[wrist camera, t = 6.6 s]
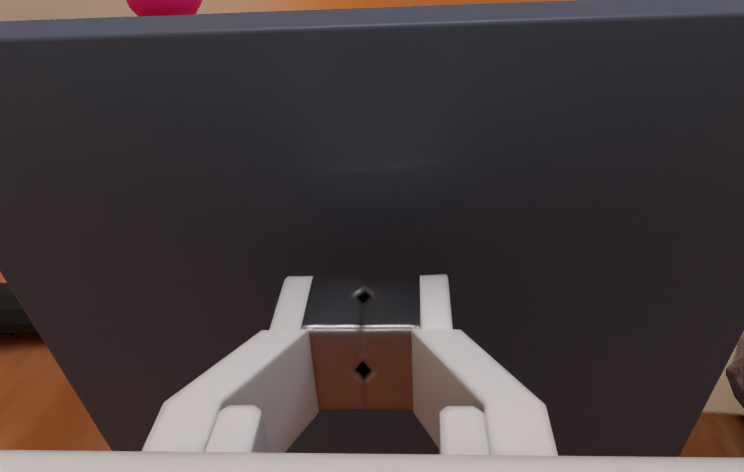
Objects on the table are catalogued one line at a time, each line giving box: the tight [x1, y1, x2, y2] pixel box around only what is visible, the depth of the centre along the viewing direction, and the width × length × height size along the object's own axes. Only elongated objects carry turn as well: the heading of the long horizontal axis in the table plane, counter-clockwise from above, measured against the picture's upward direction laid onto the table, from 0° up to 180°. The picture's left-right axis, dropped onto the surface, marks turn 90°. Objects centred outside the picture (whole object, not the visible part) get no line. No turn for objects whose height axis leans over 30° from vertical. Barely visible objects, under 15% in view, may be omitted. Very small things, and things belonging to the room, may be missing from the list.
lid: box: [0, 0, 744, 457], centre depth 14 cm, size 13×17×1 cm
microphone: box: [0, 283, 38, 338], centre depth 38 cm, size 6×6×20 cm
